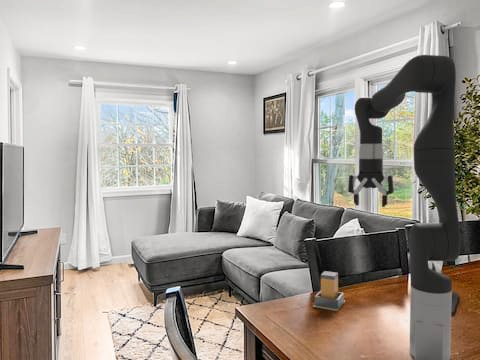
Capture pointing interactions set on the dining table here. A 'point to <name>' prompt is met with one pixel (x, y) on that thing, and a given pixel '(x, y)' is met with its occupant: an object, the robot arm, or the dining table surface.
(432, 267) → the beer glass
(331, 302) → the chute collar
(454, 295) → the smart home device
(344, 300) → the cream flat slab
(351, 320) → the dining table surface
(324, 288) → the chute block
